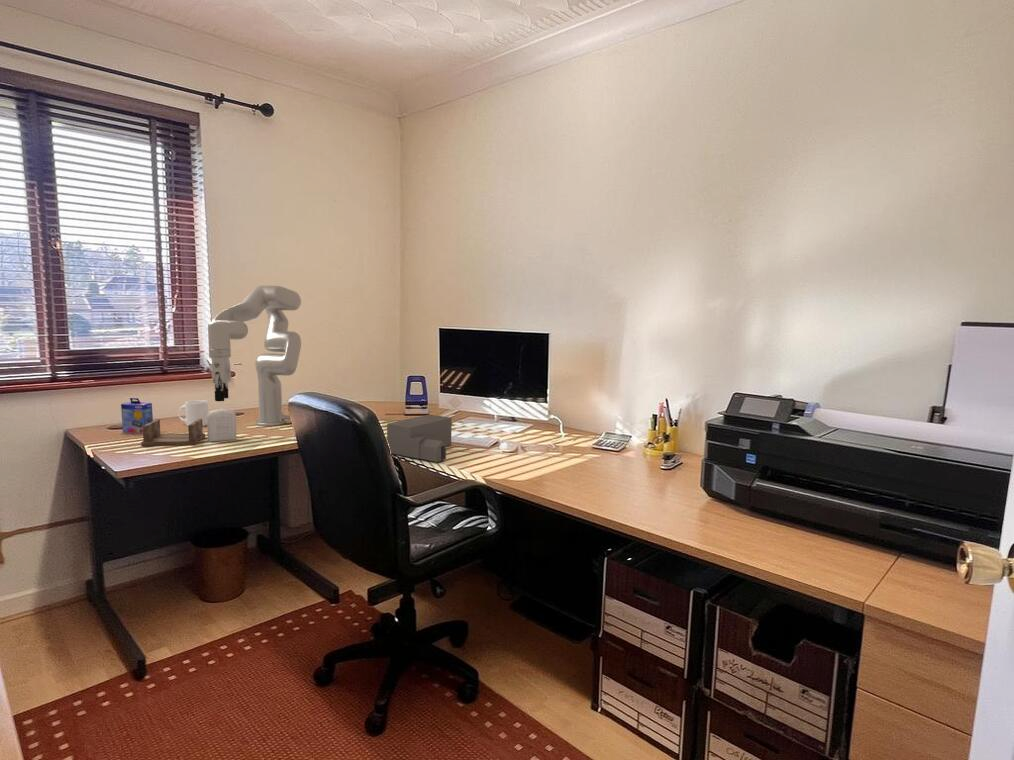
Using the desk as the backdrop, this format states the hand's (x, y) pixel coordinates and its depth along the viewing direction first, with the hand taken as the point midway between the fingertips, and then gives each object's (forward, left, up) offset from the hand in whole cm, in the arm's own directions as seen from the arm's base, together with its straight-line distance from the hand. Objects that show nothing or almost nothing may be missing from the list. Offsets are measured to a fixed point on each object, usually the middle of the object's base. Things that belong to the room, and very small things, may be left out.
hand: (221, 399), depth 223 cm
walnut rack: (+17, 0, -16) cm, 24 cm away
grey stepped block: (-79, +27, -17) cm, 85 cm away
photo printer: (0, 0, -16) cm, 16 cm away
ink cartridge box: (+36, -19, -16) cm, 44 cm away
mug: (+19, -31, -16) cm, 40 cm away
